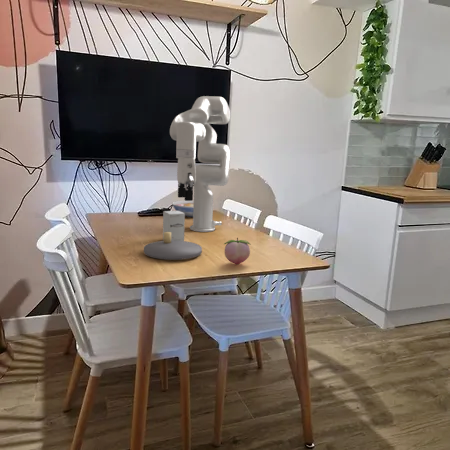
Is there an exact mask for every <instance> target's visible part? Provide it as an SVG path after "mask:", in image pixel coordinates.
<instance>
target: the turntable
mask: <svg viewBox="0 0 450 450" xmlns="http://www.w3.org/2000/svg"><path fill="white" fill-rule="evenodd" d="M202 250H203V247H202V246H201V245H200V244H197V243H195V242H192V241H187V240H186V241H185V240H184V241H171V232H164V239H163V240H160V241H159V240H158V241H154V242H150V243H147V244H145V245H144V246H143V254H144V255H146V257H147V256H148V257H150V258H154V259H158V260H166V261H167V260H169V261H170V260H172V261H173V260H174V261H175V260H176V261H177V260H187V259H192V258H193V259H194V258H196V257H199V256H200V255H202V252H203V251H202Z"/></svg>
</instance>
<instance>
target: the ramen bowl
mask: <svg viewBox="0 0 450 450" xmlns="http://www.w3.org/2000/svg"><path fill="white" fill-rule="evenodd" d="M171 205H172V207H173V208H174V211H181V212H183V213H185V217H186V216H187V218H193V206H194V200H192V201H185V200H177V201H173V202H171Z"/></svg>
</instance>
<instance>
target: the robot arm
mask: <svg viewBox="0 0 450 450" xmlns="http://www.w3.org/2000/svg"><path fill="white" fill-rule="evenodd" d="M230 120H231V109H230V106H229V104H228V102H227V100H226V99H225V98H224V97H222V96H215V95H214V96H209V95H206V96H205V95H203V96H200V97H197V98H196V100H195V101H194V103H193V104H192V107H191V109H188V110H186V111H184V112H181V113H179V114H178V115H176V116H175V117H174V119H173V120H172V122H171V125H170V126H169V127H170V128H169V135H170V137H171V139H172V140H173V141H176V150H175V151H176V155H175V156H176V157H175V158H176V159H177V171H176V172H177V173H176V174H177V175H176V176H177V177H176V179H177V183H178V184H177V198H184V201H194V206H193V217H192V218H193V219H192V225H190V226H189V229H190V230H191V231H194V232H201V233H207V232H208V233H209V232H214V231H215V230H216V226H222V221H217V220H214V219H213V217H214V216H213V214H214V213H213V211H214V193H213V191H212V189H211V188H210V186H218V187H219V186H220V187H221V186H226V185H227V184H228V182H229V176H230V167H231V149H230V145H228V144H226V143H217V139H218V138H217V137H218V134H217V132H216V130H215V129H214V128H213V127H212V125H211V124H213V125H227V124H228V123H229V122H230ZM197 142H198V147H197ZM196 152H197V153H196ZM196 154H197V157H196ZM196 158H197V160H198V161H199V162H200V163H204V164H197V165H196ZM216 164H217V165H216Z"/></svg>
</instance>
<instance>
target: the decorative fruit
mask: <svg viewBox="0 0 450 450" xmlns="http://www.w3.org/2000/svg"><path fill="white" fill-rule="evenodd" d="M249 245H252V244H251V243H250V242H249V241H248V240H246V239H240V240H239V237H237V238H236V239H235V240H234V239H230V240H227V241H226V242H224V246H225V247H224V257H225V258H226V259H227V260H228V261H229V262H230V263H232V264H234V265H239V264H241V263H244V262H246V260H247V259H248V258H249V257H250V255H251V250H250V249H251V248H250V246H249Z"/></svg>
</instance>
